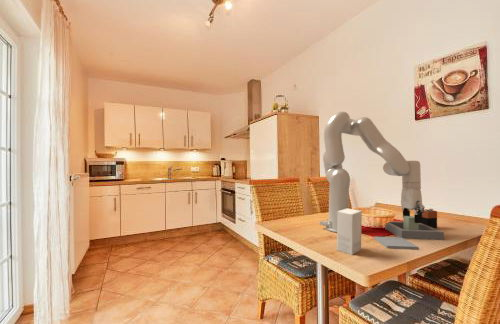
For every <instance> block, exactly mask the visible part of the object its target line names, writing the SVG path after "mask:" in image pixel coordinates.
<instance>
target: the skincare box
mask: <svg viewBox="0 0 500 324" xmlns="http://www.w3.org/2000/svg"><path fill="white" fill-rule="evenodd" d="M337 212H338V214H337V232H336V233H337V234H336V251H338V252H342V253H345V254H348V255H351V256H353V255H354V254H356V253H358V252H359V251H361V250H362V223H363V222H362V215H363V213H362V212H363V211H362V210H359V209H355V208H354V209H353V208H349V209H348V208H347V209H344V210H340V211H337Z"/></svg>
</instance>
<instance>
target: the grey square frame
mask: <svg viewBox="0 0 500 324" xmlns="http://www.w3.org/2000/svg"><path fill="white" fill-rule="evenodd" d="M391 221H392V222H388V223H386V225H385V229H384V230H386V231H388V232H390V233H392V234H393V235H395V236H396V237H402V238H404V239H405V240H408V239H409V240H411V239H413V240H433V241H434V240H436V241H437V240H438V241H440V240H441V241H444V240H445V237H444V236H445V234H444V231H442V230H440V229H437V228H432V227H430V226H427V225H425V224H422V223H419V225H418V230H404V229H403V221H393V220H391Z"/></svg>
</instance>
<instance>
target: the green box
mask: <svg viewBox="0 0 500 324" xmlns="http://www.w3.org/2000/svg"><path fill="white" fill-rule="evenodd" d="M402 218H403V221H402V222H403V229H404V230H418V225H419V223H415V219H414V216H413V215H410V216H403V215H402Z"/></svg>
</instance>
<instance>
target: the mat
mask: <svg viewBox="0 0 500 324" xmlns="http://www.w3.org/2000/svg"><path fill="white" fill-rule="evenodd" d="M373 239H374V240H375V241H376V242H378V243H379V244H381V245H382V246H383V247H385V248H386V249H398V250H399V249H400V250H420V249H419V248H420V247H419V246H418V245H416V244H414V243H412V242H411V241H409V240H408V239H405V238H402V237H398V236H395V237H394V236H373Z"/></svg>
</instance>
